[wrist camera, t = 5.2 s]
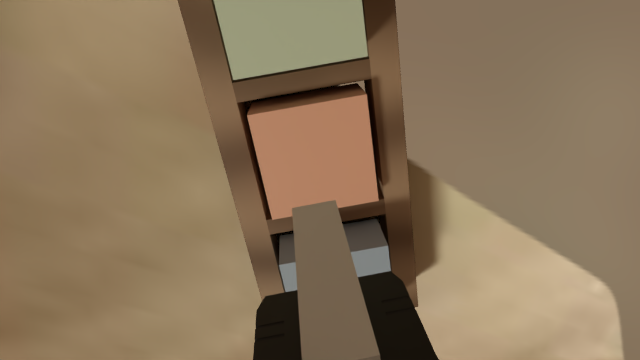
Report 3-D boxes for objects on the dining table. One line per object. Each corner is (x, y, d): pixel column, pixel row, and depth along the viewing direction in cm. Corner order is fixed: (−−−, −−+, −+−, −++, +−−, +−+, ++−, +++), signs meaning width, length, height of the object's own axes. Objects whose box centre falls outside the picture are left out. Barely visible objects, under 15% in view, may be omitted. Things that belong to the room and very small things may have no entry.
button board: (407, 282, 29) (418, 306, 27) (272, 307, 29) (271, 332, 27) (373, -113, 19) (385, -128, 17) (168, -77, 19) (153, -88, 17)
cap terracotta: (273, 196, 25) (272, 219, 22) (251, 101, 22) (247, 115, 20) (368, 179, 25) (378, 200, 22) (357, 82, 23) (366, 94, 20)
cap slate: (297, 311, 27) (298, 345, 24) (279, 235, 24) (278, 265, 22) (385, 295, 27) (396, 328, 24) (376, 218, 24) (387, 245, 22)
